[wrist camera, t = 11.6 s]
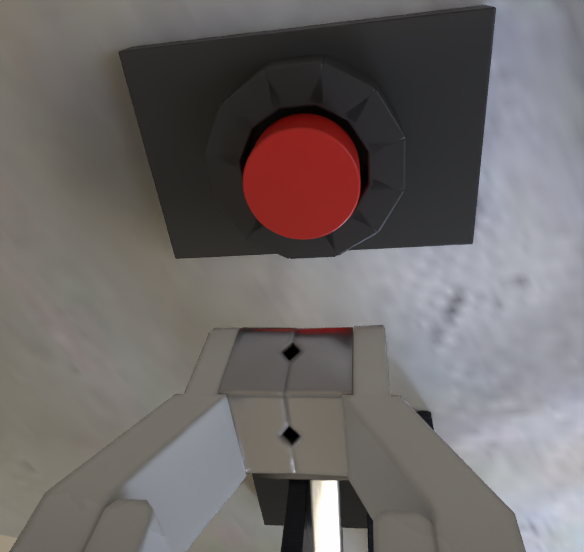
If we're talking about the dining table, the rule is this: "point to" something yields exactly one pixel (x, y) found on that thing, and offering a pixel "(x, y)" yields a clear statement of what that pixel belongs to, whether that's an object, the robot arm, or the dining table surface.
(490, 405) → the dining table surface
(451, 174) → the button housing
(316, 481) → the toast lever
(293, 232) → the button
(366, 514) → the lever bracket
